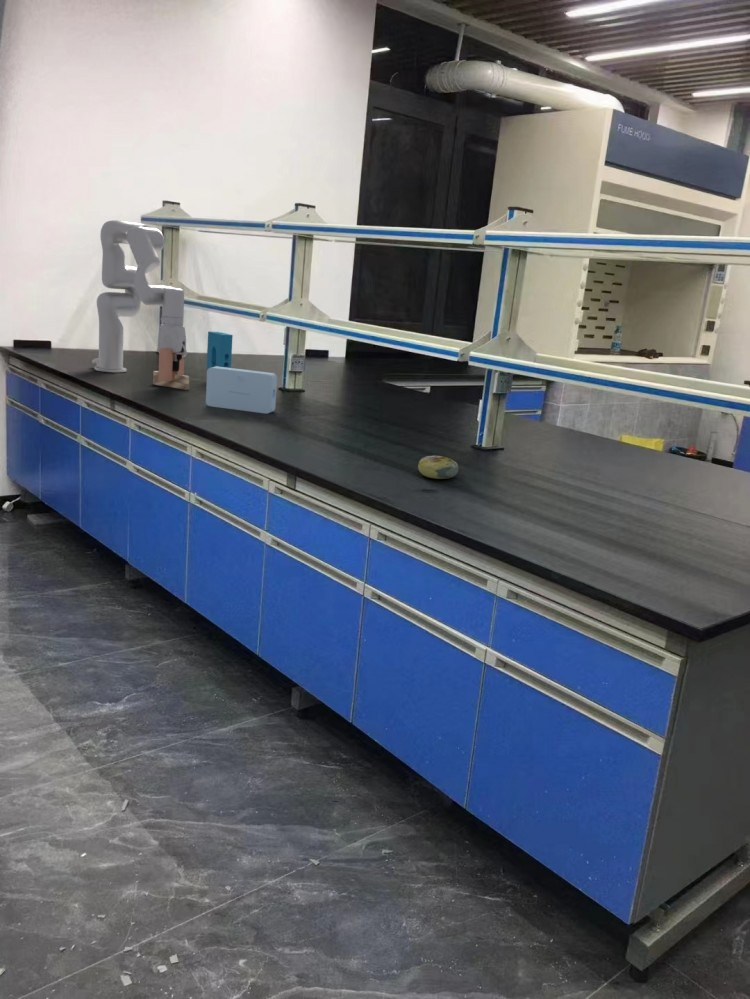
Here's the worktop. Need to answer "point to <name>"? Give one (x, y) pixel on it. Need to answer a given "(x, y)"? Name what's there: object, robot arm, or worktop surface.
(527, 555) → the worktop surface
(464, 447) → the worktop surface
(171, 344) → the robot arm
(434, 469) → the cell model
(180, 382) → the slot plate base
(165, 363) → the terracotta plate
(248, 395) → the pale blue box
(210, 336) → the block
